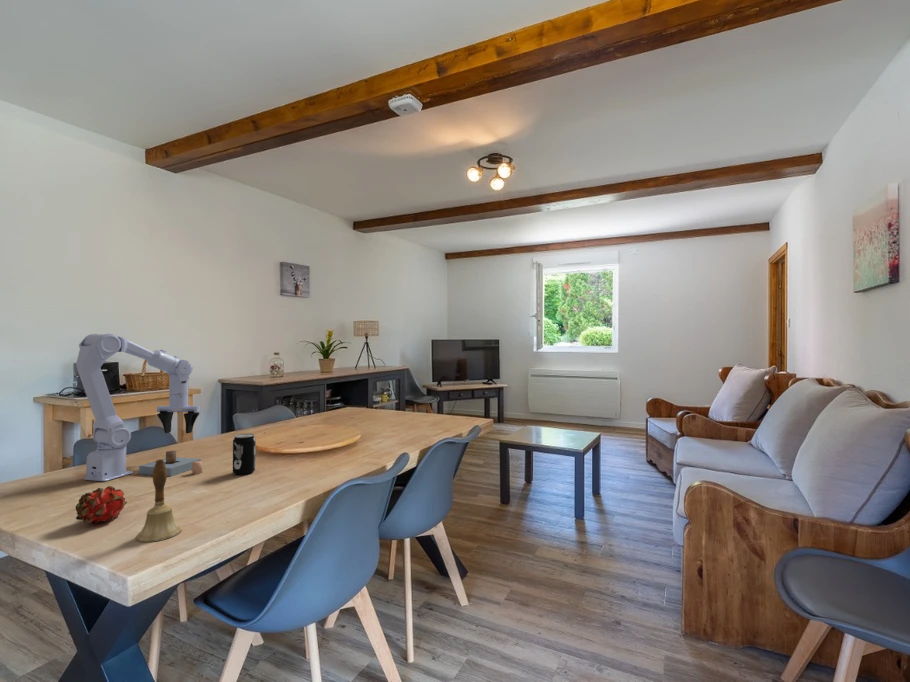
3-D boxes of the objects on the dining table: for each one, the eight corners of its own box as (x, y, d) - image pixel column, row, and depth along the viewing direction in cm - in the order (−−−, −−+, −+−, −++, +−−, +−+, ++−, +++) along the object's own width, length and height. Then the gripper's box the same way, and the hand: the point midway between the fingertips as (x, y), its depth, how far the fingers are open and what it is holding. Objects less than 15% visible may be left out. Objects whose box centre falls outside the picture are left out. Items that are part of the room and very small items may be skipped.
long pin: (170, 471, 146) (171, 452, 146) (163, 470, 146) (163, 452, 146) (178, 469, 148) (178, 450, 148) (170, 468, 149) (171, 450, 149)
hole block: (170, 476, 140) (171, 468, 140) (139, 473, 143) (139, 465, 143) (200, 466, 152) (200, 458, 152) (170, 464, 154) (170, 456, 154)
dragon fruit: (72, 540, 98) (117, 526, 110) (106, 516, 98) (146, 505, 110) (55, 506, 99) (101, 496, 111) (88, 483, 100) (130, 475, 112)
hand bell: (125, 540, 94) (126, 464, 94) (158, 525, 102) (158, 454, 103) (161, 543, 93) (162, 465, 93) (190, 527, 101) (191, 456, 101)
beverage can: (227, 474, 142) (228, 436, 142) (242, 469, 149) (242, 432, 149) (245, 476, 141) (246, 437, 141) (259, 470, 147) (260, 433, 147)
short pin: (197, 474, 142) (197, 463, 142) (189, 474, 143) (190, 463, 143) (204, 472, 145) (204, 461, 145) (196, 471, 145) (197, 460, 146)
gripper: (205, 392, 162) (205, 430, 162) (166, 392, 163) (166, 430, 163) (193, 395, 155) (192, 434, 155) (152, 394, 156) (152, 434, 156)
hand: (178, 432), depth 159 cm, fingers open, 7 cm apart
